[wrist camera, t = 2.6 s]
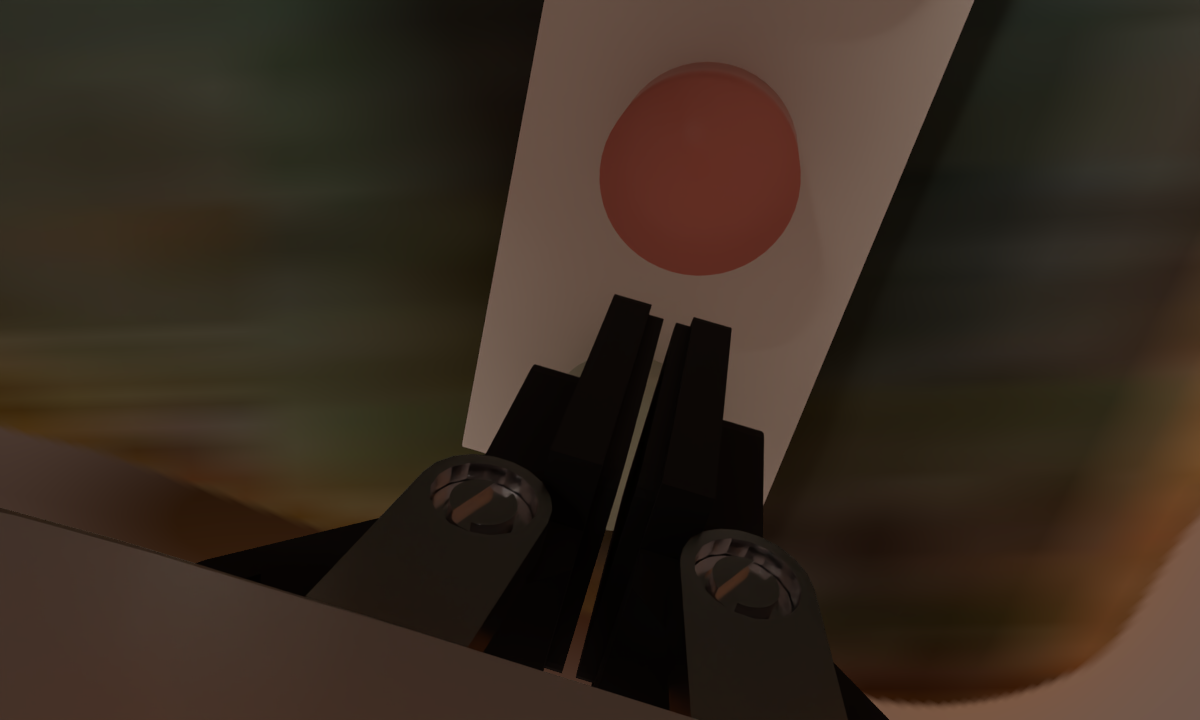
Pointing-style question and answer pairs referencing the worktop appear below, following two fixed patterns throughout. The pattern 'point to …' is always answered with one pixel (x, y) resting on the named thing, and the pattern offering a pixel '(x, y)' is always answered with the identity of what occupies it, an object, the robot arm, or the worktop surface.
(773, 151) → the button red
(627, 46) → the console
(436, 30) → the worktop surface
